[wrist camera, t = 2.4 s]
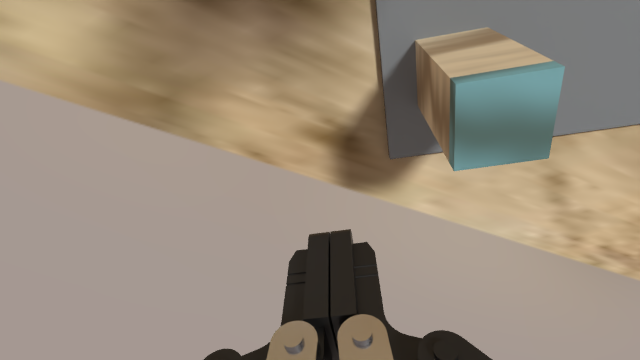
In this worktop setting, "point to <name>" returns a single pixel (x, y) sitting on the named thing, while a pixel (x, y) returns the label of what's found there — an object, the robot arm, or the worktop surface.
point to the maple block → (487, 97)
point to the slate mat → (531, 31)
